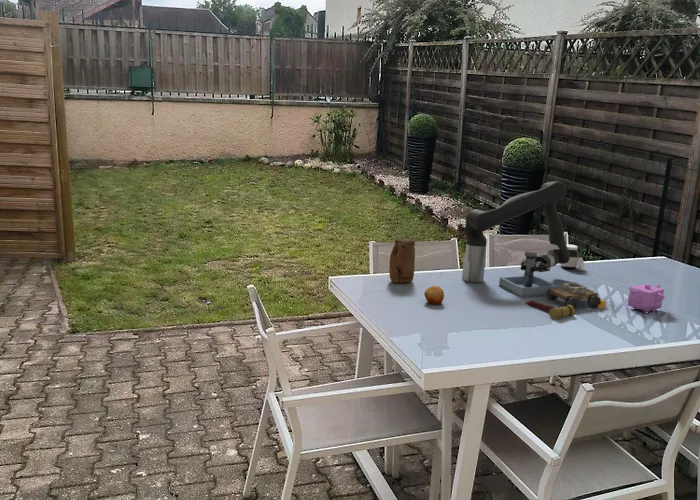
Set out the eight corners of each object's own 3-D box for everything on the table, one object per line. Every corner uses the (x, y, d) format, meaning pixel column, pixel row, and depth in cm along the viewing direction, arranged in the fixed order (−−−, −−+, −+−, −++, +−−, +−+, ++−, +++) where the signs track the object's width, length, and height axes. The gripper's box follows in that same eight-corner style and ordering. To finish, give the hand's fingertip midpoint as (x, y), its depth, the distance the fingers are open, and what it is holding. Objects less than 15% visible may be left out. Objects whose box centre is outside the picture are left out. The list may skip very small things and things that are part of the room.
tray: (521, 297, 273) (522, 288, 272) (499, 285, 290) (499, 277, 289) (556, 294, 279) (557, 286, 278) (532, 283, 296) (533, 275, 295)
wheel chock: (598, 308, 263) (599, 301, 262) (593, 305, 266) (594, 299, 265) (605, 307, 264) (606, 301, 263) (600, 305, 267) (601, 298, 266)
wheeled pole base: (567, 310, 258) (569, 291, 257) (545, 299, 272) (547, 281, 270) (599, 307, 264) (602, 289, 262) (576, 296, 277) (578, 279, 275)
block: (405, 278, 297) (407, 236, 292) (415, 282, 291) (417, 239, 286) (386, 281, 291) (388, 238, 287) (396, 285, 285) (398, 242, 280)
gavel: (517, 298, 263) (534, 295, 268) (517, 308, 264) (533, 305, 269) (558, 309, 245) (575, 306, 251) (558, 321, 246) (574, 317, 251)
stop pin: (526, 288, 281) (529, 254, 277) (519, 284, 286) (522, 252, 282) (536, 287, 283) (539, 254, 279) (529, 283, 287) (532, 251, 284)
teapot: (623, 302, 272) (627, 278, 269) (657, 305, 269) (661, 281, 266) (629, 313, 258) (633, 288, 255) (665, 317, 254) (669, 291, 252)
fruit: (447, 297, 265) (445, 284, 260) (442, 311, 260) (440, 298, 255) (429, 294, 269) (427, 281, 263) (423, 308, 264) (421, 295, 258)
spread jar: (558, 264, 332) (561, 243, 329) (581, 266, 330) (583, 244, 327) (562, 270, 320) (565, 248, 317) (586, 272, 319) (588, 250, 316)
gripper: (529, 251, 296) (512, 257, 284) (559, 257, 287) (542, 264, 275) (528, 267, 298) (511, 274, 285) (557, 273, 289) (540, 280, 276)
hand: (526, 269), depth 280 cm, fingers closed on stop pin, 4 cm apart
